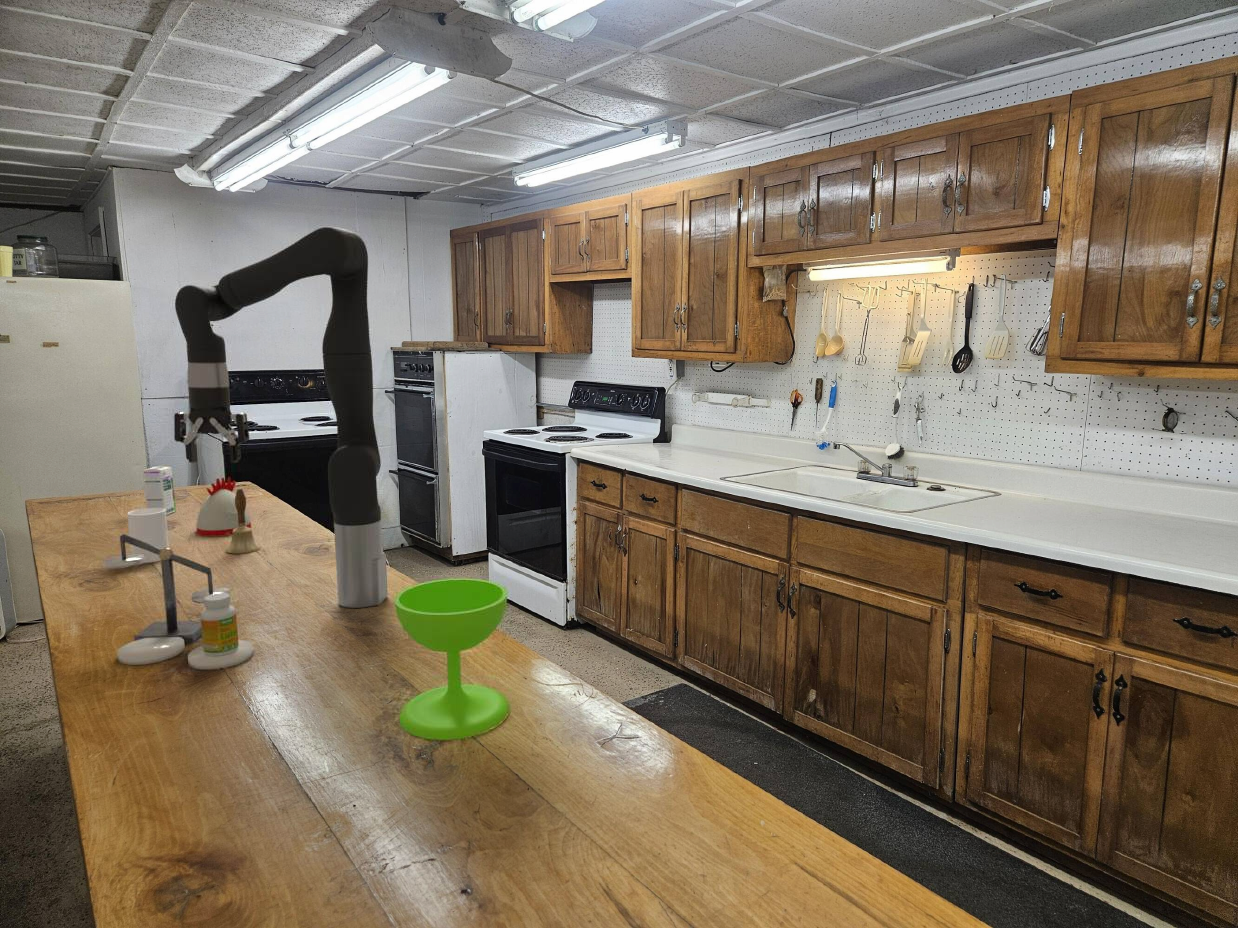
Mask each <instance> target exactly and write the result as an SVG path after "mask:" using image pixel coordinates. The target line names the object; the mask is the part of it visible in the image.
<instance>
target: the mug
mask: <svg viewBox="0 0 1238 928" xmlns="http://www.w3.org/2000/svg"><path fill="white" fill-rule="evenodd" d="M167 521H168V520H167V515H166V510H165V509H163V508H147V507H146V508H140V509H139V508H137V509H133V510H130V511H128V512H127V522H128V533H129V534H128V535H129V536H130V537H133V538H135V539H138V540H140V541H143V542H145V543H148V544H150V545H153V546H155V547H158V548H161V549H163V548H170V544H169V534H168V533H169V532H168V523H167ZM130 554H141V555H144V556H145V562H144V563H143V564H148V563H149V564H151V563H156V562H161V559H160V558H159V556H158V555H157V554H154V553H152V552H149V551H147V550H144V549H142V548H139V547H137V546H134V545H131V544H130Z"/></svg>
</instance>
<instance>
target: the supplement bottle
mask: <svg viewBox="0 0 1238 928" xmlns="http://www.w3.org/2000/svg"><path fill="white" fill-rule="evenodd" d="M230 604H231V596H230V595H229V594H227V593H217V594H211V595H208V596H206V597H204V603H203V605H204V607H205V608H204V609H203V610H202V611H201V612H200V621H201V627H202V635H201V636H202V646H203V650H204V654H205V655H208V656H223V655H227V654H230V653H233V652H234V651H236V650H237V649H238V646H239V645H238V640H239V634H238V632H239V631H238V621H237V610H236V608H235V607H234V606H233V605H230Z"/></svg>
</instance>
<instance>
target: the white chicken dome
mask: <svg viewBox="0 0 1238 928" xmlns="http://www.w3.org/2000/svg"><path fill="white" fill-rule="evenodd" d="M215 481H216V483H214V482H213V483H212V482H211V483H210V485H211V488H212V490H211V489H210V488H207V487H206V491H207V493H208V494H209V495H208V496H207V497H206V498H205V499H204V501H203V502H202V505H201V506H200V508H199V512H198V515H197V520H196V534H198V535H200V536H205V537H207V536H208V537H219V536H218V535H222V536H228V535H229V534H231V535H232V533H233V530H234V529H236V528H237V527H238V512H237V509H236V506H235V496H236V493H234V492H233V491H234V489H235V486H236V482H237V481H236V480H233V481H232V479H231V477H230V476H229V477H227V481H226V480H225V478H224V477H221V480H220V478H216V479H215ZM245 525H246V527H248V528H251V529H252V521H251V517H250V514H249V512H248V510H247V507H246V508H245ZM229 536H230V535H229Z"/></svg>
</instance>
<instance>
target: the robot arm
mask: <svg viewBox="0 0 1238 928" xmlns="http://www.w3.org/2000/svg"><path fill="white" fill-rule="evenodd" d="M368 274H369V256H368V249H367V245H366V243H365V242H364V239H362V238H361V236H360V235H359V234H357V233H356V232H354V231H351V230H348V229H345V228H341V227H335V226H329V225H328V226H322V227H318V228H317V229H314V230H313V231H310V232H309V233H308V234H306V235H304V236H303V237H302V238H300V239H299V240H297V241H295V242H294V243H292V244H291V245H289V246H287V247H285V248H284V249H282V250H280V251H279V252H277V253H275V254H273V255H270V256H269V257H267V258H264V259H262V260H260V261H258V262H257V261H256V262H255V263H253V264H249V265H246V266H245V267H241V268H239V269H236V270H234V271H232V272H229V273H227V274H225V275H223V276H222V277H221V278H220V280H219V282H218V283H217V284H215V285H212V286H211V285H210V286H208V285H207V286H205V285H197V284H196V285H195V284H194V285H193V284H187V285H185V286H183V287H181V288H180V289H179V290H178V292H177V293H176V295H175V302H174V305H175V312H176V316H177V320H178V322H179V325H180V328H181V331H182V334H183V337H184V339H185V341H186V357H187V372H186V373H187V375H186V377H187V379H186V380H187V382H186V383H187V387H188V388H187V389H188V403H189V404H188V405H189V409H190V410H189V411H190V412H189V413H188V412H184V411H179V412H176V413H174V416H173V418H174V419H173V421H174V422H173V423H174V430H173V431H174V432H173V433H174V434H173V435H174V441H175V442H176V443H178V442H180V443H182V444H184V446H185V458H186V460H188V462H189V463H190V464H191V463H192V464H193V463H196V462H197V461H198V447H197V443H195V442H197V440H198V438H199V437H200V436H201V435H202V434H203V435H207V434H212V435H219V434H220V435H221V436H222V437H223V438H225V439H226V441H227V442H228V443H229V459H230V463H231V464H236V463H238V462H239V461H240V460H241V457H242V454H241V444H242V443H244V442H248V441H249V440H250V433H249V432H250V430H249V424H248V423H249V422H248V415H247V413H246V412H240V413H232V412H231V395H230V394H231V393H230V380H229V370H228V366H227V365H228V364H227V354H226V352H227V351H226V350H227V349H226V343H225V339H224V337H223V336H222V335H220V334H219V333H215V332H214V331H213V329H212V328H213V327H212V325H211V322H218V321H223V320H225V319H227V318H230V317H232V316H233V315H235V314H236V313H238V312H239V311H241V310H242V309H244V308H247V307H248V306H252V305H254V304H258V303H260V302H262V301H266V300H267V299H269V298H272V297H273V296H275V295H276V294H278V293H279V292H281V291H282V290H283V289H284V288H286V287H287V286H288V285H291V284H292V283H295V282H297V281H300V280H302V279H306V278H310V277H316V276H321V275H326V276H329V277H330V283H331V294H332V296H331V297H332V299H331V301H332V304H331V311H330V314H329V317H328V321H327V324H326V328H325V330H324V335H323V338H322V347H321V348H322V349H321V351H322V361H323V362H322V363H323V373H324V381H325V385H326V387H327V391H328V394H329V397H330V400H331V403H332V406H333V407H332V408H333V410H334V414H335V419H336V428H337V430H336V431H337V433H336V435H337V436H336V437H337V443H336V444H337V446H336V450H335V451H334V452H333V453H332V455H331V456H330V457H329V461H328V464H327V478H328V479H327V481H328V482H327V483H328V491H329V492H328V493H329V494H328V495H329V503H330V509H331V512H332V514H333V528H334V533H333V534H334V549H335V566H336V567H335V568H336V581H337V582H336V585H337V598H338V600H337V601H338V605H339V606H341V607H343V608H351V609H353V608H354V609H356V608H359V609H360V608H367V607H373V606H380V605H382V603H383V602H384V601H385V600H386V598H387V597H388V595H389V593H388V575H387V573H388V571H387V555H386V552H383V536H382V535H383V533H382V532H383V531H382V513H381V512H382V510H381V506H380V503H379V499H378V486H377V484H378V483H377V482H378V481H377V476H378V475H379V473H380V471H381V465H382V464H381V463H382V461H381V454H380V450H379V445H378V441H377V440H378V439H377V434H376V427H375V422H374V379H373V377H374V374H373V373H374V372H373V359H372V348H371V339H370V322H369V311H368V309H369V308H368V279H369V278H368ZM232 420H233V422H234V424H236V429H237V430H235V429H234V428H233V427H232V426H231V423H232ZM189 421H190V422H191V424H192V427H191V428H190V430H189V431H188V432H187V423H188V422H189ZM236 431H237V434H236Z"/></svg>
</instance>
